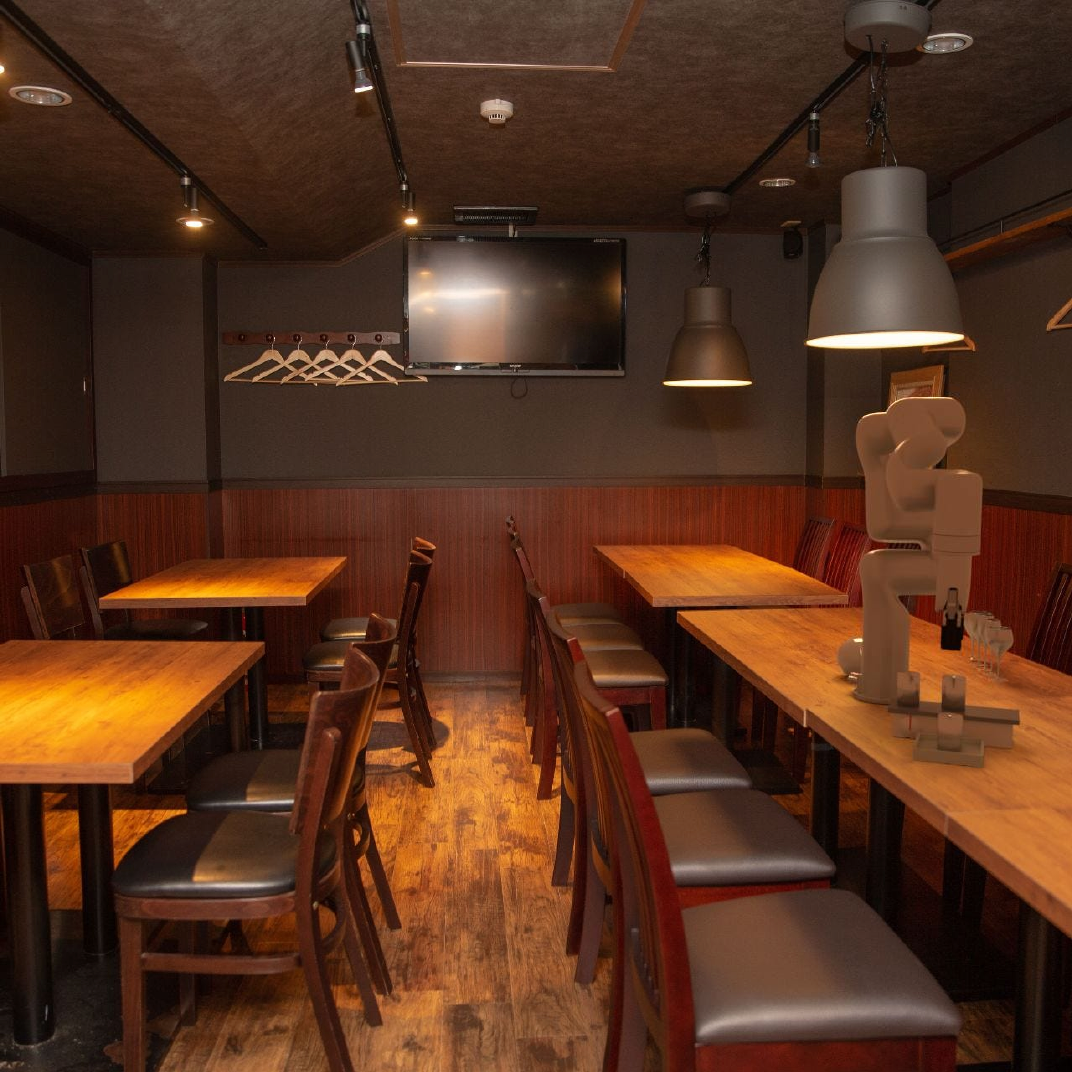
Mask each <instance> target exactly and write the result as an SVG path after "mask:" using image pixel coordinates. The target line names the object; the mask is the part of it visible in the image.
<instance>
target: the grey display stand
mask: <svg viewBox="0 0 1072 1072" xmlns="http://www.w3.org/2000/svg"><path fill="white" fill-rule="evenodd" d="M941 704H942V702H936V701H935V702H934V701H925V700H924V701H923V700H920V702H919V707H902V706H899V705H897V699H894V698H892V699H891V701H890V704H888V705H887V709H886V710H887V713H889V714H893V717H892V719H893V720H892V737H895V738H903V737H910V738H909V739H913V738H916V737H917V733H928V734H937V728H938V713H943V712H949V713H956V714H960V715H962V716H963V730H962V737H966V738H976V739H985V742H984V747H991V748H999V749H1007V748H1010V749H1009V750H1013V740H1014V738H1013V737H1014V736H1013V735H1014V726H1020V725H1021V724H1020V723H1021V719H1020V709H1012V708H1011V709H1010V708H1002V707H1001V708H1000V707H991V706H990V707H989V706H980V705H979V706H977V705H968V704H965V711H962V712H952V711H946V710H943V709H942V708H941Z"/></svg>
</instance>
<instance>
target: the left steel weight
mask: <svg viewBox="0 0 1072 1072" xmlns="http://www.w3.org/2000/svg"><path fill="white" fill-rule="evenodd" d="M920 695H921V673H920V672H918V671H914V670H909V671H898V672H897V705H899V706H902V707H919V702H920V701H921V700H920V697H921V696H920Z"/></svg>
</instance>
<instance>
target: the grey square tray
mask: <svg viewBox="0 0 1072 1072" xmlns="http://www.w3.org/2000/svg"><path fill="white" fill-rule="evenodd" d="M914 740H915V741H914V744H913V747H912V760H913V761H918V760H921V761H920V762H927V761H928V763H929V762H930V763H937V764H944V763H951V764H950V765H953V764H959V765H958V766H962V765H966V766H965V767H971V766H973V768H980V769H983V768H984V760H985V759H984V758H985V746H984V742H985V739H976V738H966V737H962V751H961V752H959V753H958V752H949V751H940V750H938V749H937V734H928V733H917V737H916V739H914Z"/></svg>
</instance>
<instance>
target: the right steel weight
mask: <svg viewBox="0 0 1072 1072" xmlns="http://www.w3.org/2000/svg"><path fill="white" fill-rule="evenodd" d="M962 730H963V716H962V715H960V714H956V713H949V712H943V713H938V728H937V749H938V750H940V751H949V752H958V753H959V752H961V751H962Z"/></svg>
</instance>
